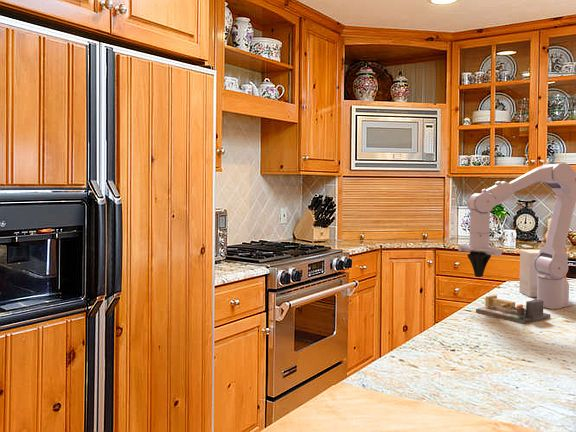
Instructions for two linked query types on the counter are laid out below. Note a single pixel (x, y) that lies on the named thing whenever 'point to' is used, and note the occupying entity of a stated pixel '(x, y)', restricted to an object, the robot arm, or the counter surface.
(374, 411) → the counter surface
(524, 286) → the supplement box
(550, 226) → the robot arm
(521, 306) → the orange and grey block
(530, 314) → the gauge base
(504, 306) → the wooden u-shaped cradle
